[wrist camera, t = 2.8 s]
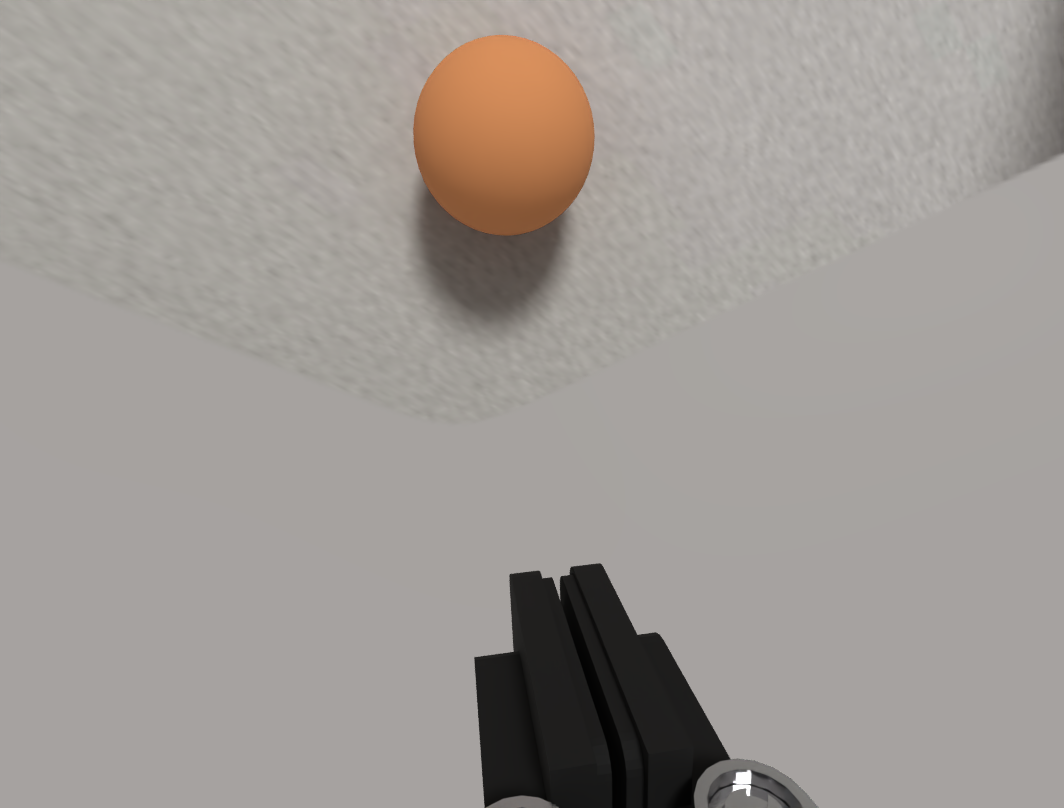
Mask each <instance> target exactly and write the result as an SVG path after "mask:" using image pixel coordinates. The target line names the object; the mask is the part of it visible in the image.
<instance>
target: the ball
mask: <svg viewBox="0 0 1064 808" xmlns="http://www.w3.org/2000/svg"><path fill="white" fill-rule="evenodd" d="M413 132H414V148H415V155H416V159H417V163H418V167H419V170H420V172H421V175H422V177H423V180H424V182H425V184H426V185H427V187H428V189H429V191H430V192H431V194H432V195H433V196H434V198H435V199H436V201H437V202H438V203H439V204H440V205H441V206H442V207H443V208H444V209H445V210H446V211H447V212H448V213H449V214H450V215H451V216H453V217H454V218H455V219H457V220H458V221H460V222H461V223H463V224H464V225H466V226H468V227H471V228H473V229H475V230H478V231H481V232H484V233H488V234H494V235H518V234H523V233H527V232H531V231H534V230H536V229H539V228H541V227H543V226H545V225H546V224H548V223H550V222H551V221H553V220H554V219H555V218H557V217H558V216H559V215H561V214H562V213H563V212H564V211H565V210H566V209H567V208H568V207H569V206H570V205H571V203H572V202H573V201H574V200H575V198H576V197H577V195H578V194H579V192H580V190H581V189H582V187H583V185H584V183H585V180H586V178H587V176H588V173H589V169H590V166H591V162H592V157H593V151H594V137H595V136H594V123H593V117H592V112H591V108H590V105H589V102H588V99H587V96H586V94H585V92H584V90H583V87H582V86H581V84H580V82H579V81H578V79H577V77H576V76H575V74H574V73H573V72H572V71H571V69H570V68H569V67H568V66H567V65H566V64H565V63H564V62H563V61H562V60H561V59H560V58H559V57H558V56H557V55H555V54H554V53H553V52H552V51H550V50H549V49H547V48H545V47H544V46H542V45H540V44H538V43H536V42H533V41H531V40H528V39H525V38H521V37H516V36H508V35H495V36H487V37H482V38H478V39H475V40H473V41H470V42H468V43H465V44H464V45H462V46H460V47H459V48H457V49H455V50H454V51H453V52H451V53H450V54H449V55H448V56H446V57H445V58H444V59H443V60H442V61H441V63H440V64H439V65H438V66H437V67H436V68H435V69H434V71H433V72H432V74H431V75H430V77H429V78H428V80H427V82H426V83H425V85H424V87H423V89H422V92H421V94H420V97H419V100H418V103H417V107H416V112H415V117H414V128H413Z"/></svg>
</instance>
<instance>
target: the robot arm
mask: <svg viewBox="0 0 1064 808" xmlns="http://www.w3.org/2000/svg"><path fill="white" fill-rule="evenodd" d="M510 596H511V614H512V630H513V648H514V652H510V653H503V654H495V655H488V656H481V657H475V658H474V659H475V673H476V689H477V703H478V718H479V732H480V745H481V746H480V747H481V761H482V776H483V789H484V804H485V808H818V806H817V805H816V804H815V803H814V802H813V801H812V799H810V797H809V796H808V795H807V793H805V791H803V790H802V789H801V788H800V787H799V786H798V785H797V784H796V783H795V782H794V781H793V780H792V779H791V778H789V777H788V776H786V775H785V774H783V773H781V772H780V771H778V770H776V769H775V768H773V767H771V766H767V765H765V764H762V763H759V762H756V761H752V760H744V759H730V758H729V756H728V754H727V752H726V750H725V749H724V747H723V745H722V743H721V741H720V740H719V738H718V736H717V734H716V732H715V731H714V729H713V727H712V725H711V724H710V722H709V720H708V718H707V716H706V715H705V713H704V711H703V709H702V708H701V706H700V704H699V702H698V701H697V699H696V697H695V695H694V693H693V692H692V690H691V688H690V686H689V684H688V683H687V681H686V679H685V677H684V676H683V674H682V672H681V670H680V669H679V667H678V665H677V663H676V662H675V660H674V658H673V656H672V654H671V652H670V651H669V649H668V647H667V645H666V644H665V642H664V640H663V639H662V637H661V636H660V635H659V634H658V633H649V634H641V635H637V633H636V631H635V630H634V627H633V625H632V623H631V621H630V619H629V617H628V615H627V613H626V611H625V610H624V607H623V605H622V603H621V601H620V599H619V597H618V595H617V594H616V591H615V589H614V588H613V586H612V584H611V581H610V580H609V578H608V575H607V573H606V571H605V569H604V567H603V566H602V564H591V565H583V566H574V567H571V568H570V575H568V576H561V578H560V599H561V600H560V599H559V596H558V593H557V590H556V587H555V584H554V581H553V579H552V577H551V578H543V579H542V576H541V573H540V571H532V572H523V573H515V574H510ZM560 601H561V602H560Z"/></svg>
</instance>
